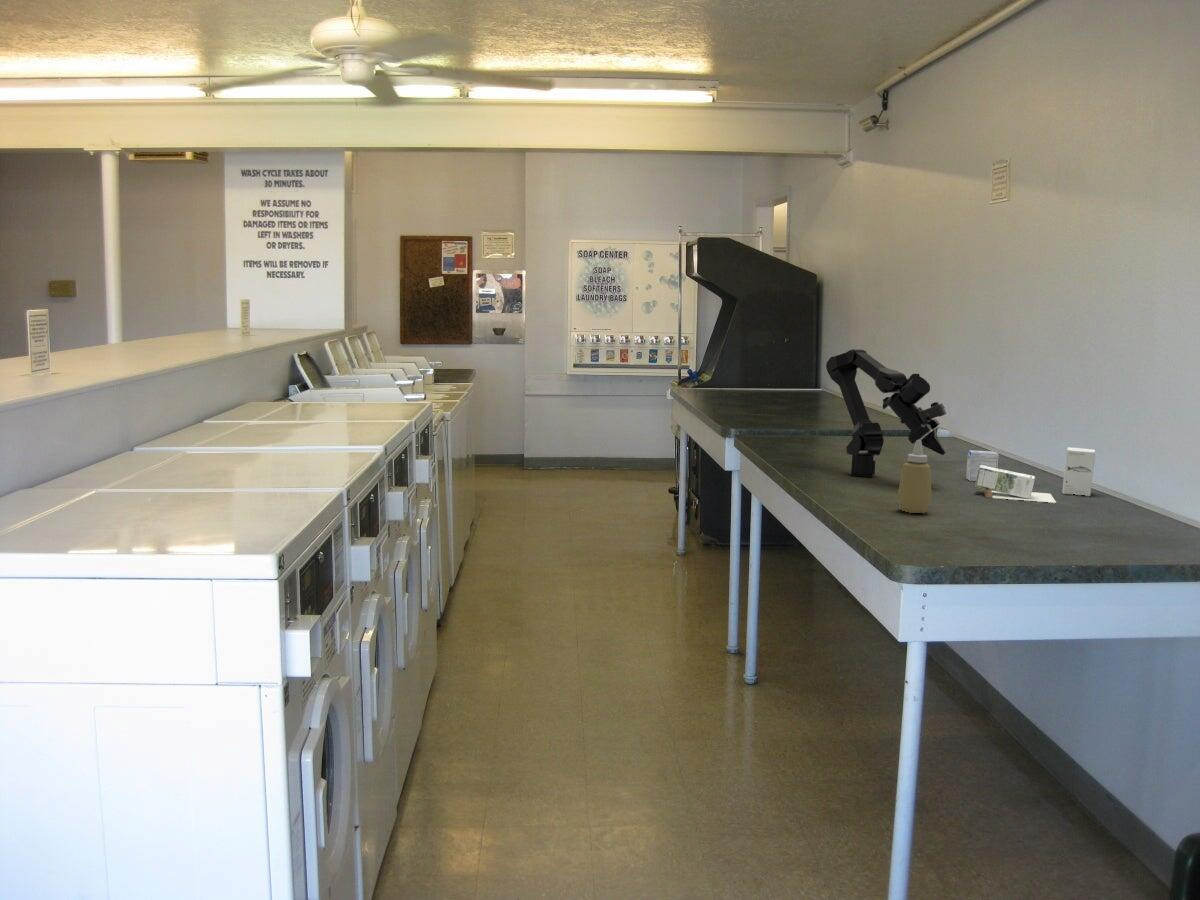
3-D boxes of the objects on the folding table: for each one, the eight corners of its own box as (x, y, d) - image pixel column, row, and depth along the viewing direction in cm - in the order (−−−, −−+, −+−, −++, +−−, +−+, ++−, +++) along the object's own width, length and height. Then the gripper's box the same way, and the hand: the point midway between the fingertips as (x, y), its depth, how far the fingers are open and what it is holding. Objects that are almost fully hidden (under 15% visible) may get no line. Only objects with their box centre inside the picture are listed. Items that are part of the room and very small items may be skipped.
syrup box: (976, 484, 302) (1030, 496, 296) (974, 487, 296) (1030, 499, 291) (980, 464, 301) (1035, 475, 295) (978, 466, 295) (1035, 478, 290)
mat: (992, 498, 292) (992, 497, 292) (989, 489, 305) (989, 488, 305) (1056, 503, 288) (1056, 502, 288) (1050, 494, 301) (1050, 493, 301)
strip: (985, 497, 294) (985, 491, 293) (982, 489, 305) (983, 484, 305) (991, 497, 293) (992, 491, 293) (988, 490, 305) (989, 484, 304)
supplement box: (1061, 494, 303) (1066, 449, 301) (1062, 490, 310) (1067, 446, 308) (1090, 497, 300) (1095, 451, 298) (1090, 493, 307) (1095, 448, 305)
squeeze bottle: (930, 510, 272) (936, 439, 269) (929, 516, 264) (935, 443, 261) (897, 507, 274) (902, 437, 272) (895, 513, 267) (900, 441, 264)
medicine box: (992, 480, 323) (995, 451, 322) (996, 482, 318) (999, 453, 317) (965, 478, 324) (967, 450, 322) (968, 481, 319) (971, 452, 318)
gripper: (924, 395, 294) (962, 439, 291) (934, 390, 310) (971, 432, 307) (892, 421, 298) (930, 465, 295) (904, 415, 315) (940, 456, 312)
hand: (944, 454), depth 302 cm, fingers closed
